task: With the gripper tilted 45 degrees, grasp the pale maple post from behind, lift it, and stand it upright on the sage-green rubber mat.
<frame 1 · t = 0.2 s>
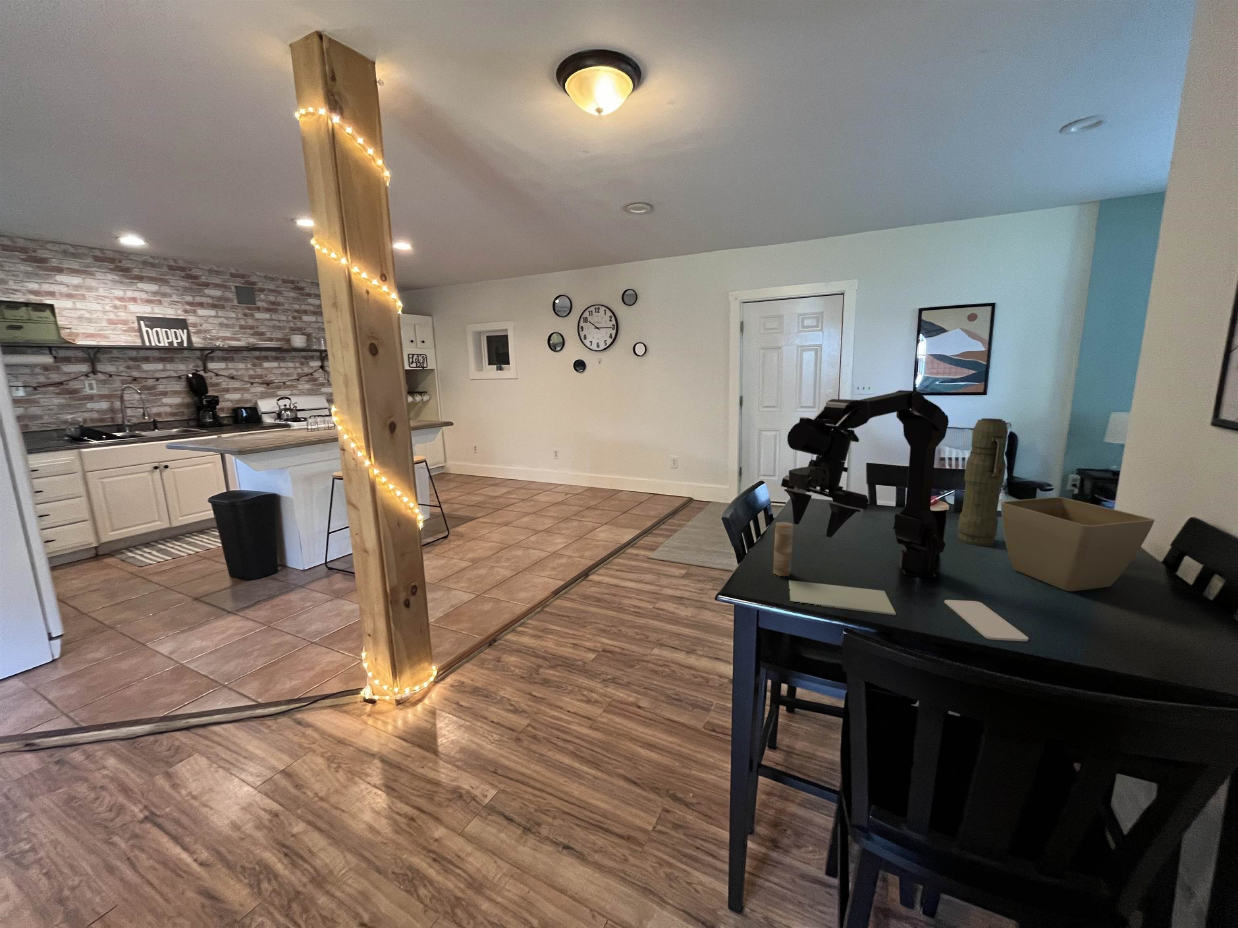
hand: (811, 530, 101), 15 cm above the table, tool pointing down, fingers open, 9 cm apart
sage mat: (838, 597, 104), on the table
flower pot: (1060, 579, 112), on the table
thermos: (974, 541, 137), on the table
smartphone: (982, 622, 94), on the table
maple post: (781, 573, 116), on the table
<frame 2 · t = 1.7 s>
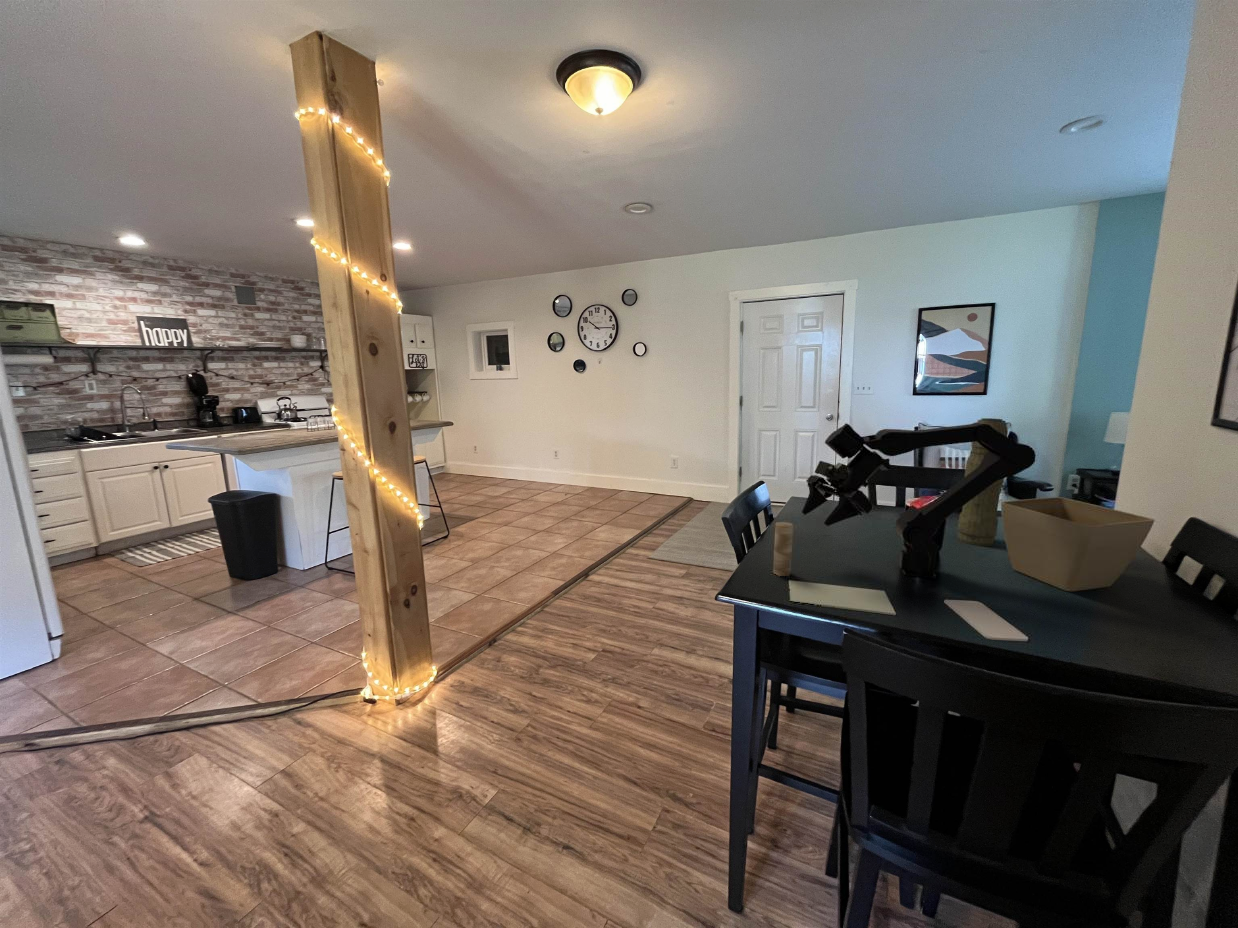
hand: (813, 518, 115), 13 cm above the table, tool tilted 45°, fingers open, 9 cm apart
nothing on the table moved.
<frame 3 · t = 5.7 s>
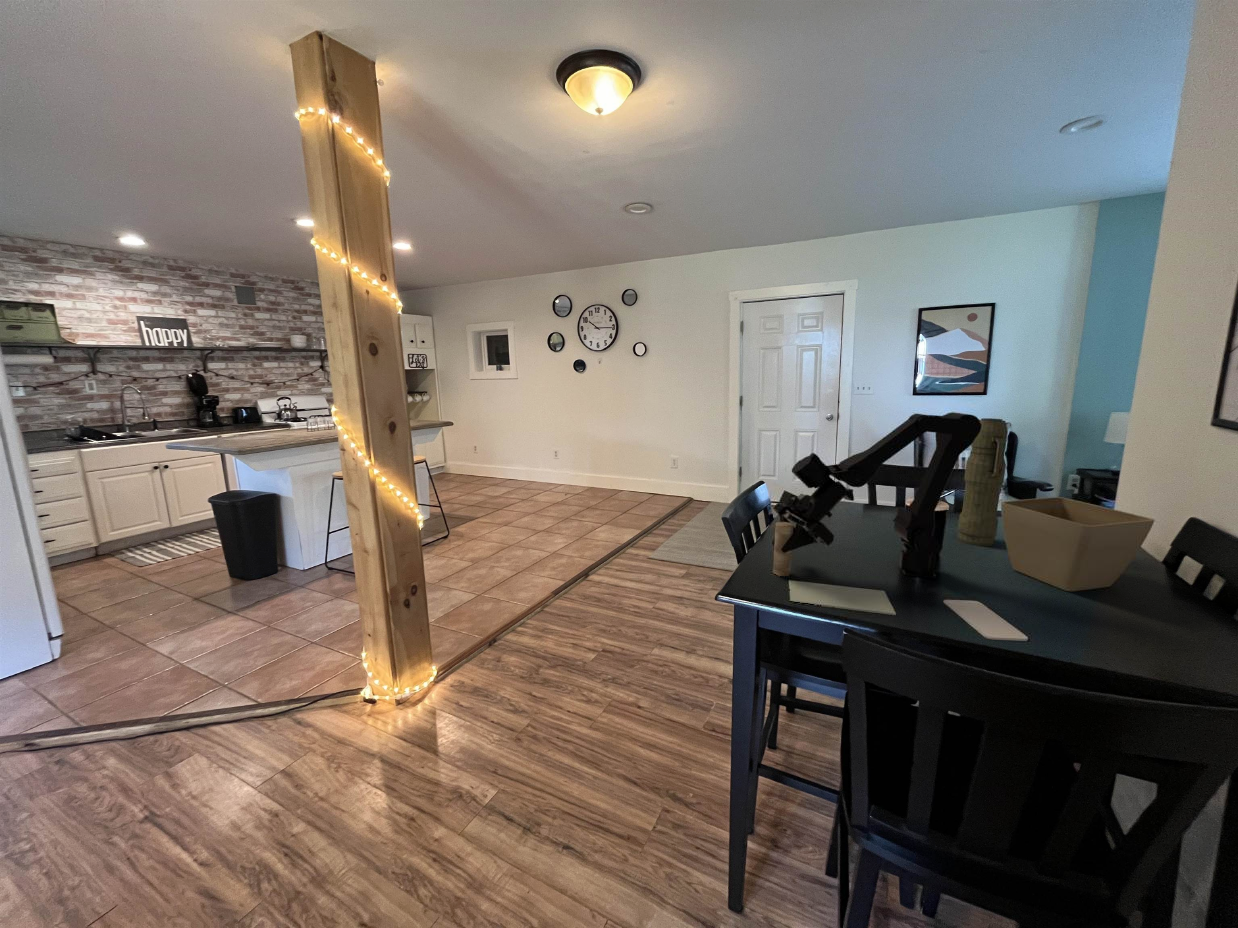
hand: (777, 548, 115), 7 cm above the table, tool tilted 45°, fingers closed on maple post, 4 cm apart
maple post: (781, 573, 116), on the table, touching gripper
everything else where it was.
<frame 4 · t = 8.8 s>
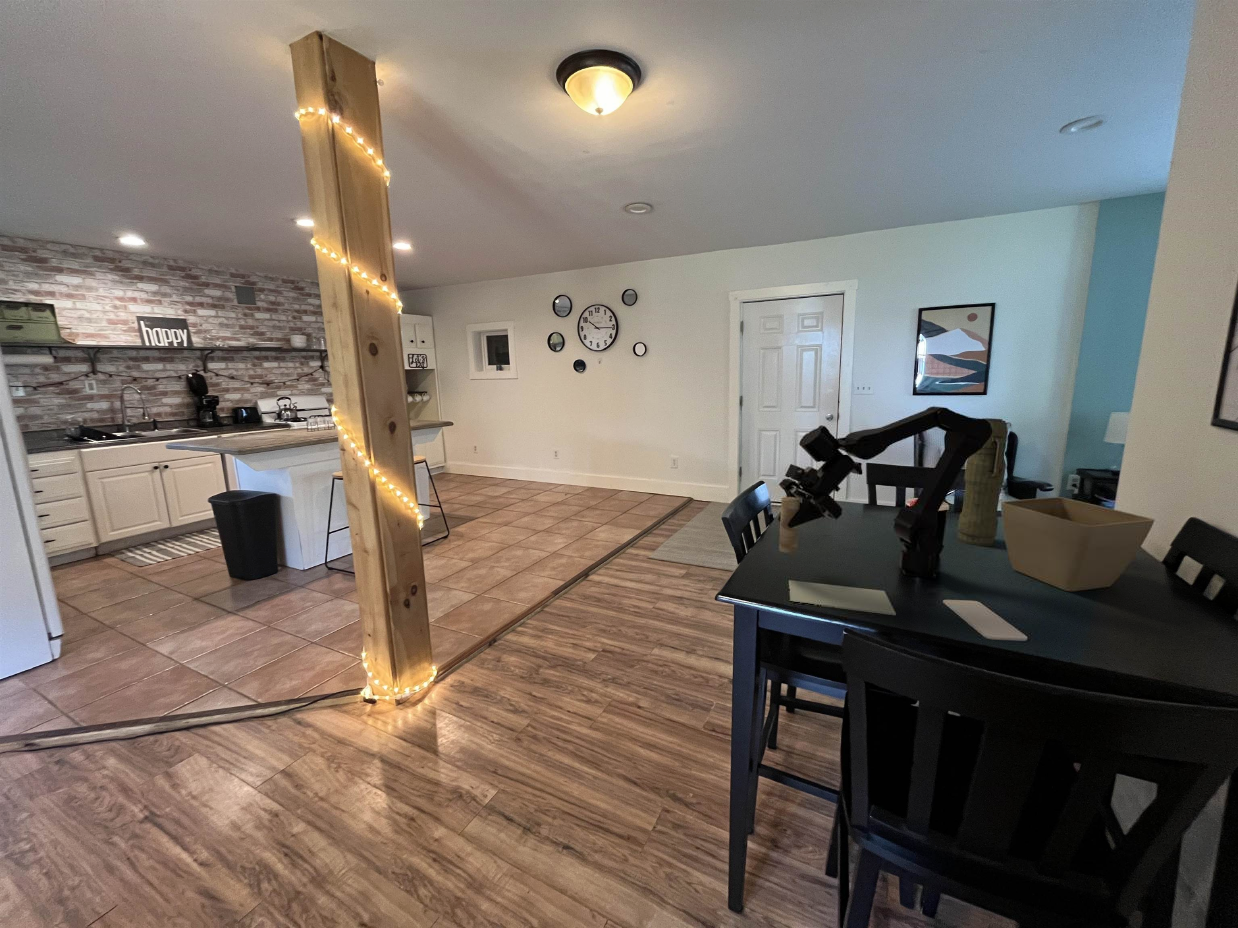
hand: (783, 523, 112), 13 cm above the table, tool tilted 45°, fingers closed on maple post, 4 cm apart
maple post: (787, 550, 113), point 7 cm above the table, touching gripper
everything else where it was.
when the fingers open (8 cm above the table, at t = 12.0 s): maple post stays where it is, resting on sage mat.
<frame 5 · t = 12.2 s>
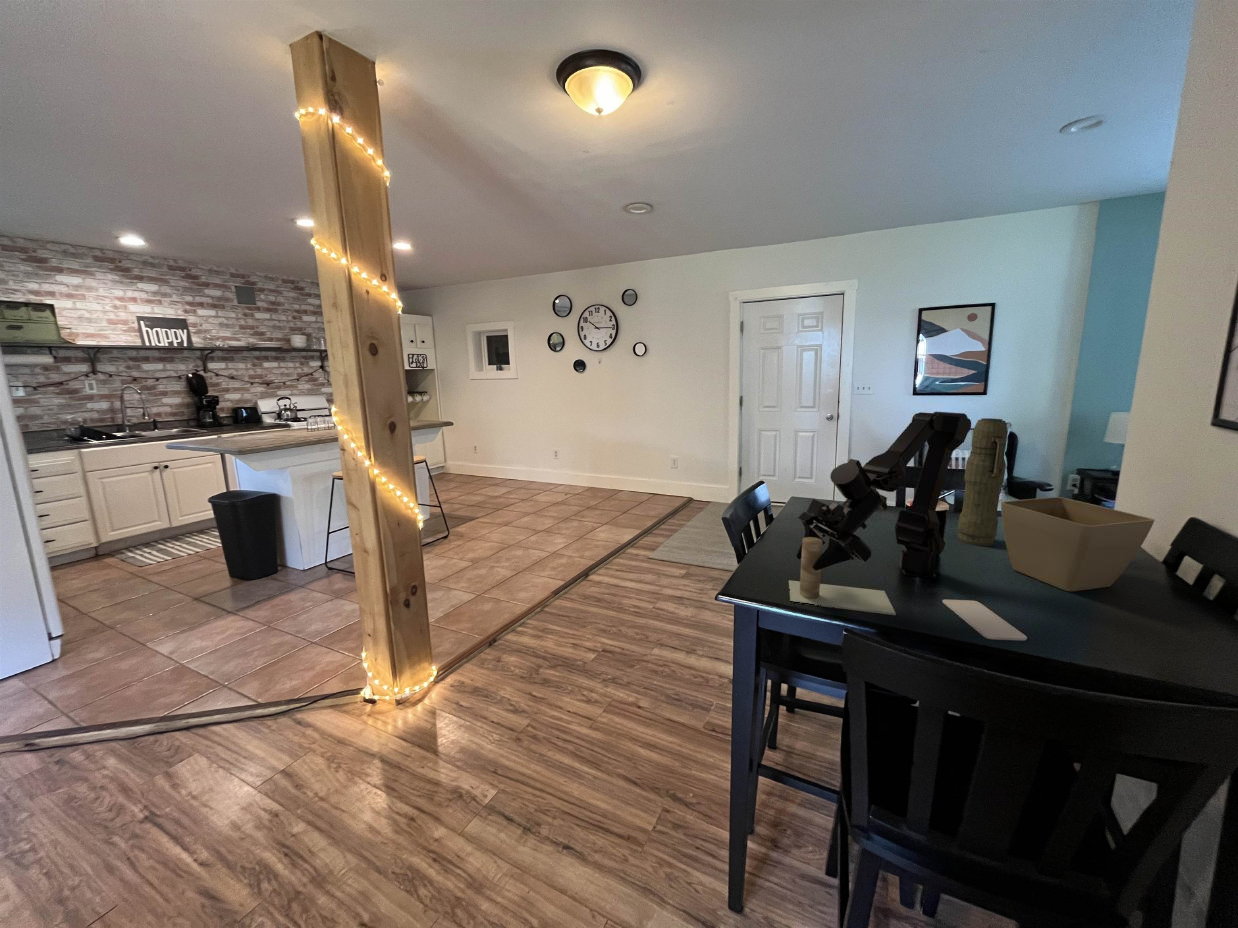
hand: (805, 563, 103), 8 cm above the table, tool tilted 45°, fingers open, 6 cm apart
maple post: (809, 594, 104), resting on sage mat
everything else where it was.
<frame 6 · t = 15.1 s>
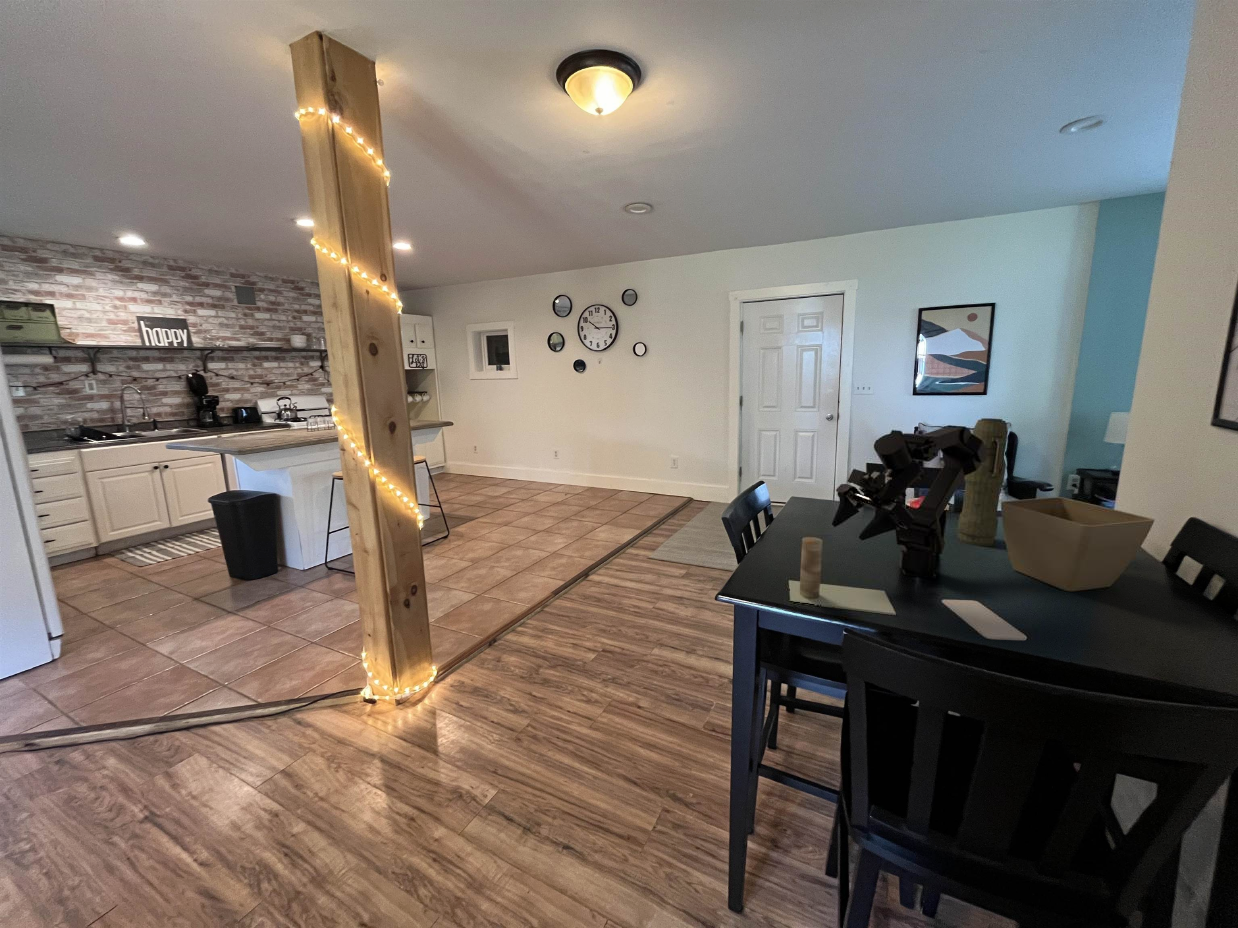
hand: (846, 532, 105), 13 cm above the table, tool tilted 45°, fingers open, 9 cm apart
nothing on the table moved.
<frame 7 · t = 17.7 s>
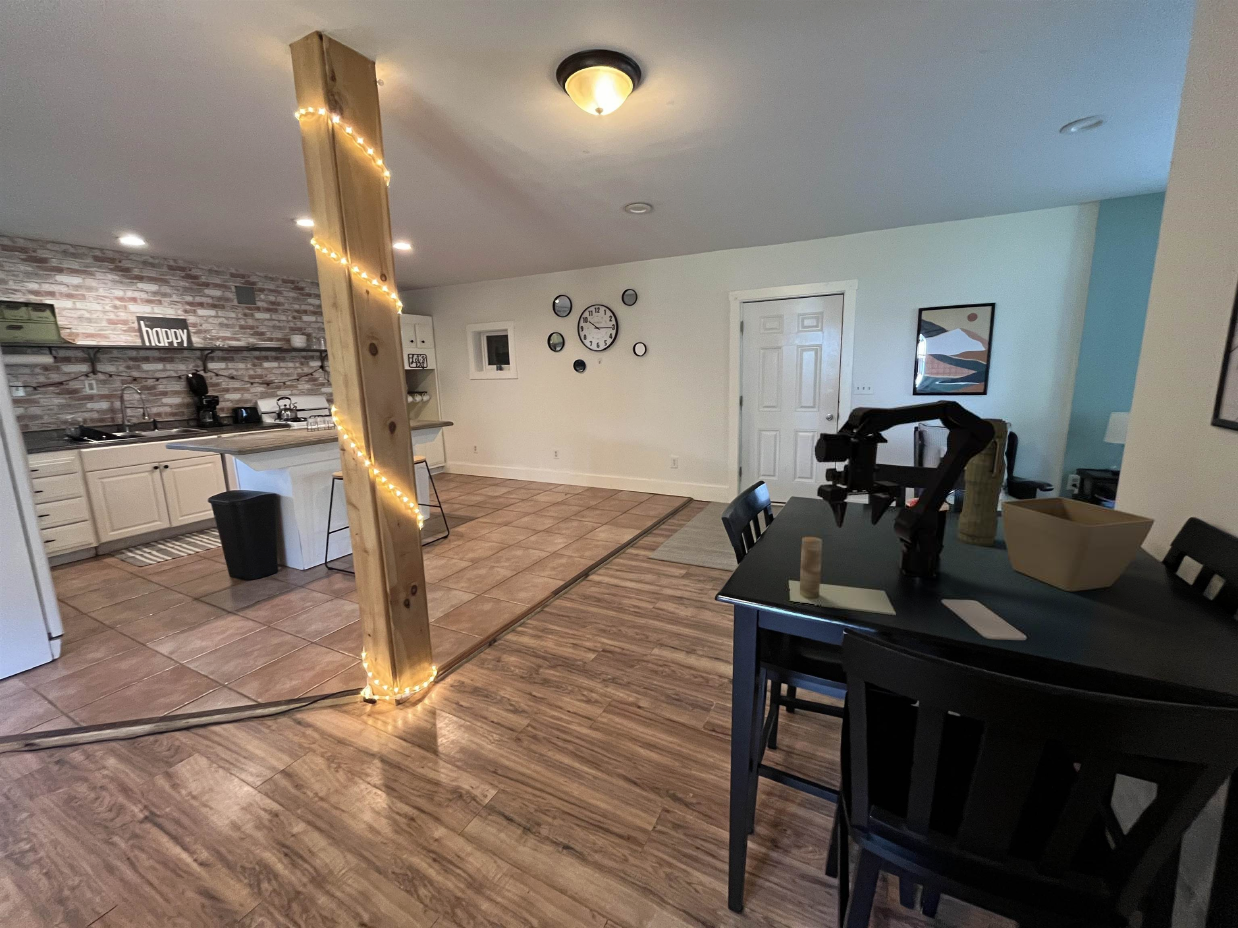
hand: (856, 525, 114), 12 cm above the table, tool pointing down, fingers open, 9 cm apart
nothing on the table moved.
at the end: maple post inside the target area (6.1 cm from its centre), resting on sage mat; maple post tilted 1°; the gripper is holding nothing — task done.
